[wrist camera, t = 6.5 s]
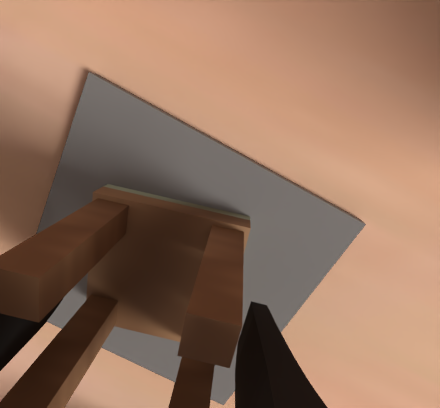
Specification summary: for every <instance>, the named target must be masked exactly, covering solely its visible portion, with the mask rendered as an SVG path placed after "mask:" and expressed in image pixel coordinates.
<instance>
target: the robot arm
mask: <svg viewBox="0 0 440 408" xmlns="http://www.w3.org/2000/svg"><path fill="white" fill-rule="evenodd" d="M62 300H63V299H62ZM62 300H61V301H62ZM61 301H60V302H59V303H58V304H57V305H56V306H55V307H54V308H53V309H52V310H51V311H50V312H49V313H48V314H47V315H46V316H45V317H44V318H43V319H42V320H41V321H40V322H34V321H30V320H26V319H22V318H18V317H14V316H9V315H5V314H1V313H0V371H1V370H2V369H3V368H4V367H5V366H6V364H7V363H8V362H9V361H10V360H11V359H12V358H13V357H14V356H15V355H16V354H17V353H18V352H19V351H20V350H21V349H22V348H23V347H24V346H25V344H26V343H27V342H28V341H29V340H30V339H31V338H32V337H33V336H34V335H35V334H36V333H37V332H38V331H39V330H40V328H41V327H42V326H43V325H44V324H45V323H46V322H47V320H48V319H49V318H50V316H51V315H52V314H53V313H54V311H55V310H56V308H57V307H58V306H59V304H60V303H61ZM235 408H327V406H326V405H325V404H324V402H323V401H322V399H321V398H320V397H319V395H318V394H317V393H316V391H315V390H314V388H313V387H312V385H311V384H310V382H309V381H308V379H307V378H306V376H305V374H304V373H303V371H302V370H301V368H300V366H299V365H298V363H297V361H296V360H295V358H294V356H293V354H292V353H291V351H290V349H289V347H288V345H287V344H286V342H285V340H284V338H283V336H282V334H281V332H280V330H279V328H278V326H277V324H276V322H275V320H274V318H273V316H272V314H271V312H270V310H269V308H268V306H267V305H264V304H260V303H256V302H252V301H251V303H250V306H249V309H248V312H247V315H246V318H245V322H244V325H243V328H242V331H241V334H240V337H239V340H238V345H237V354H236V365H235Z"/></svg>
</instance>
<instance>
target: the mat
mask: <svg viewBox="0 0 440 408" xmlns="http://www.w3.org/2000/svg"><path fill="white" fill-rule="evenodd" d="M107 184H110V185H115V186H119V187H123V188H128V189H132V190H136V191H141V192H145V193H149V194H154V195H158V196H162V197H167V198H171V199H176V200H180V201H184V202H189V203H193V204H197V205H202V206H206V207H210V208H215V209H219V210H223V211H228V212H232V213H236V214H241V215H245V216H250V223H251V229H250V233H249V236H248V240H247V244H246V248H245V251H244V264H243V316H242V328H243V325H244V322H245V318H246V315H247V312H248V309H249V306H250V303H251V301H252V302H256V303H260V304H264V305H267V306H268V308H269V310H270V312H271V314H272V316H273V318H274V320H275V322H276V324H277V326H278V328H279V330H280V332H282V330H283V329H284V328H285V326H286V325H287V324H288V323H289V321H290V320H291V319H292V318H293V316H294V315H295V314H296V312H297V311H298V310H299V309H300V307H301V306H302V305H303V304H304V302H305V301H306V300H307V299H308V297H309V296H310V295H311V293H312V292H313V291H314V290H315V288H316V287H317V286H318V285H319V283H320V282H321V281H322V279H323V278H324V277H325V276H326V274H327V273H328V272H329V271H330V269H331V268H332V267H333V266H334V264H335V263H336V262H337V260H338V259H339V258H340V257H341V255H342V254H343V253H344V252H345V250H346V249H347V248H348V246H349V245H350V244H351V243H352V241H353V240H354V239H355V238H356V236H357V235H358V234H359V233H360V231H361V230H362V229H363V227H364V226H365V225H366V224H365V223H364V222H363V221H362V220H360V219H359V218H357V217H355V216H353V215H351V214H349V213H348V212H346V211H344V210H342V209H340V208H339V207H337V206H335V205H333V204H331V203H330V202H328V201H326V200H324V199H322V198H320V197H319V196H317V195H315V194H313V193H311V192H310V191H308V190H306V189H304V188H302V187H300V186H299V185H297V184H295V183H293V182H291V181H290V180H288V179H286V178H284V177H282V176H281V175H279V174H277V173H275V172H273V171H271V170H270V169H268V168H266V167H264V166H262V165H261V164H259V163H257V162H255V161H253V160H251V159H250V158H248V157H246V156H244V155H242V154H241V153H239V152H237V151H235V150H233V149H232V148H230V147H228V146H226V145H224V144H222V143H221V142H219V141H217V140H215V139H213V138H212V137H210V136H208V135H206V134H204V133H202V132H201V131H199V130H197V129H195V128H193V127H192V126H190V125H188V124H186V123H184V122H183V121H181V120H179V119H177V118H175V117H173V116H172V115H170V114H168V113H166V112H164V111H163V110H161V109H159V108H157V107H155V106H153V105H152V104H150V103H148V102H146V101H144V100H143V99H141V98H139V97H137V96H135V95H134V94H132V93H130V92H128V91H126V90H124V89H123V88H121V87H119V86H117V85H115V84H114V83H112V82H110V81H108V80H106V79H104V78H103V77H101V76H99V75H97V74H95V73H91V72H89V73H88V76H87V79H86V82H85V85H84V88H83V91H82V95H81V98H80V101H79V104H78V107H77V110H76V113H75V116H74V119H73V122H72V125H71V128H70V131H69V135H68V138H67V141H66V144H65V147H64V150H63V153H62V156H61V159H60V162H59V165H58V168H57V171H56V175H55V178H54V181H53V184H52V187H51V190H50V193H49V196H48V199H47V202H46V205H45V208H44V211H43V215H42V218H41V221H40V224H39V227H38V230H37V233H36V234H38V233H39V232H41V231H43V230H44V229H46V228H48V227H50V226H51V225H53V224H55V223H56V222H58V221H60V220H61V219H63V218H65V217H67V216H68V215H70V214H72V213H73V212H75V211H77V210H78V209H80V208H82V207H84V206H85V205H87V204H89V203H90V202H92V198H93V192H94V191H96V190H98V189H99V188H101V187H103V186H105V185H107ZM87 279H88V273H87V274H86V275H85V276H84V277H83V278H82V279H81V280H80V281H79V282H78V283H77V284H76V285H75V286H74V287H73V288H72V289H71V290H70V291H69V292H68V293H67V294H66V295H65V297H64V298H63V300H62V301H61V303H60V304H59V306H58V307H57V308H56V310H55V311H54V313H53V314H52V315H51V316H50V318H49V319H48V320H47V322H49V323H51V324H53V325H55V326H57V327H59V328H61V329H62V328H63V327H64V326H65V325H66V324H67V322H68V321H69V320H70V319H71V318H72V317H73V315H74V314H75V313H76V312H77V311H78V309H79V308H80V307H81V306H82V305H83V304H84V302H85V301H86V295H87ZM241 331H242V329H241ZM240 334H241V332H240ZM239 337H240V336H239ZM238 340H239V339H238ZM179 345H180V342H178V341H173V340H169V339H165V338H161V337H157V336H153V335H148V334H144V333H140V332H136V331H132V330H127V329H123V328H119V327H115V326H114V327H113V329H112V331H111V332H110V334H109V336H108V337H107V339H106V340H105V342H104V344H103V345H102V348H104V349H106V350H108V351H110V352H112V353H114V354H116V355H118V356H121V357H123V358H125V359H127V360H129V361H131V362H133V363H135V364H137V365H140V366H142V367H144V368H146V369H148V370H150V371H152V372H154V373H156V374H159V375H161V376H163V377H165V378H167V379H169V380H171V381H173V382H175V381H176V377H177V374H178V370H179V366H180V362H181V358H182V357H180V356H177V355H178V350H179ZM237 345H238V342H237ZM236 354H237V346H236V349H235V352H234V356H233V359H232V363H231V366H230V368H226V367H222V366H218V365H215V366H214V374H213V382H212V390H211V398H210V399H211V400H213V401H216V402H218V403H220V404H222V405H224V404H225V403H226V401H227V400H228V399H229V398H230V396H231V395H232V394H233V392H234V391H235V365H236Z"/></svg>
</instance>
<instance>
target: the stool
mask: <svg viewBox="0 0 440 408" xmlns="http://www.w3.org/2000/svg"><path fill="white" fill-rule="evenodd" d="M250 229H251V223H250V216H245V215H241V214H236V213H232V212H228V211H223V210H219V209H215V208H210V207H206V206H202V205H197V204H193V203H189V202H184V201H180V200H176V199H171V198H167V197H162V196H158V195H154V194H149V193H145V192H141V191H136V190H132V189H128V188H123V187H119V186H115V185H110V184H107V185H105V186H103V187H101V188H99V189H98V190H96V191H94V192H93V198H92V202H90V203H89V204H87V205H85V206H84V207H82V208H80V209H78V210H77V211H75V212H73V213H72V214H70V215H68V216H67V217H65V218H63V219H61V220H60V221H58V222H56V223H55V224H53V225H51V226H50V227H48V228H46V229H44V230H43V231H41V232H39V233H38V234H36V235H34V236H33V237H31V238H29V239H27V240H26V241H24V242H22V243H21V244H19V245H17V246H16V247H14V248H12V249H10V250H9V251H7V252H5V253H4V254H2V255H0V313H1V314H5V315H9V316H14V317H18V318H22V319H26V320H30V321H34V322H40V321H41V320H42V319H43V318H44V317H45V316H46V315H47V314H48V313H49V312H50V311H51V310H52V309H53V308H54V307H55V306H56V305H57V304H58V303H59V302H60V301H61V300H62V299H63V298H64V297H65V295H66V294H67V293H68V292H69V291H70V290H71V289H72V288H73V287H74V286H75V285H76V284H77V283H78V282H79V281H80V280H81V279H82V278H83V277H84V276H85V275H86V274H87V273H88V279H87V295H86V301H85V302H84V304H83V305H82V306H81V307H80V308H79V309H78V311H77V312H76V313H75V314H74V315H73V317H72V318H71V319H70V320H69V321H68V322H67V324H66V325H65V326H64V327H63V328H62V330H61V331H60V332H59V333H58V334H57V335H56V337H55V338H54V339H53V340H52V341H51V343H50V344H49V345H48V346H47V347H46V349H45V350H44V351H43V352H42V353H41V354H40V356H39V357H38V358H37V359H36V360H35V362H34V363H33V364H32V365H31V366H30V367H29V369H28V370H27V371H26V372H25V373H24V375H23V376H22V377H21V378H20V379H19V380H18V382H17V383H16V384H15V385H14V386H13V388H12V389H11V390H10V391H9V392H8V393H7V395H6V396H5V397H4V398H3V399H2V401H1V402H0V408H64V407H65V406H66V404H67V402H68V401H69V399H70V398H71V396H72V394H73V393H74V391H75V389H76V388H77V386H78V384H79V383H80V381H81V380H82V378H83V376H84V375H85V373H86V371H87V370H88V368H89V367H90V365H91V363H92V362H93V360H94V358H95V357H96V355H97V354H98V352H99V350H100V349H101V347H102V345H103V344H104V342H105V340H106V339H107V337H108V336H109V334H110V332H111V331H112V329H113V327H114V326H115V327H119V328H123V329H127V330H132V331H136V332H140V333H144V334H148V335H153V336H157V337H161V338H165V339H169V340H173V341H178V342H180V345H179V350H178V355H177V356H180V357H182V358H181V362H180V366H179V370H178V374H177V377H176V381H175V385H174V389H173V393H172V396H171V400H170V404H169V408H209V406H210V398H211V390H212V382H213V374H214V366H215V365H218V366H222V367H226V368H230V366H231V363H232V359H233V356H234V352H235V349H236V346H237V342H238V339H239V336H240V332H241V329H242V316H243V264H244V251H245V248H246V244H247V240H248V236H249V233H250Z"/></svg>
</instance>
